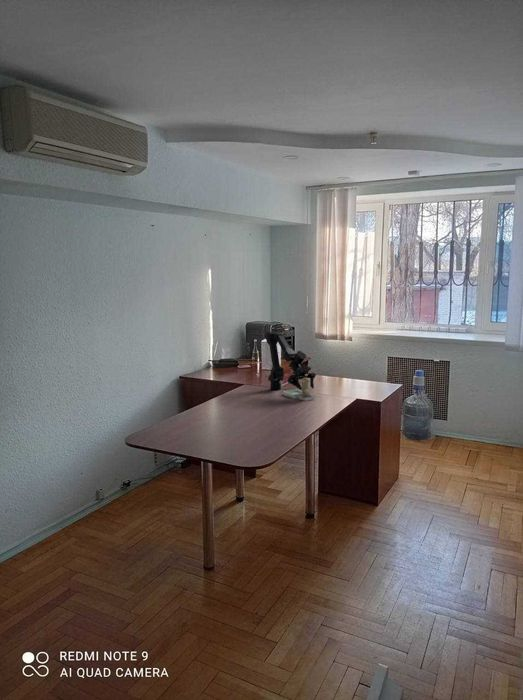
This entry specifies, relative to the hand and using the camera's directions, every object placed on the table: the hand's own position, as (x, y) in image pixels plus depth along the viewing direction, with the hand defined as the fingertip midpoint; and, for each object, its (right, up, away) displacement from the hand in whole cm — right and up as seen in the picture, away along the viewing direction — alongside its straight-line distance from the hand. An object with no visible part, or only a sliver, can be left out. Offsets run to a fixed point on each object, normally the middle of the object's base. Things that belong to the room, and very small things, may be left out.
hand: (307, 388), depth 317 cm
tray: (-7, -5, +11) cm, 14 cm away
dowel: (-1, -7, +2) cm, 7 cm away
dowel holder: (-1, -6, +2) cm, 7 cm away
